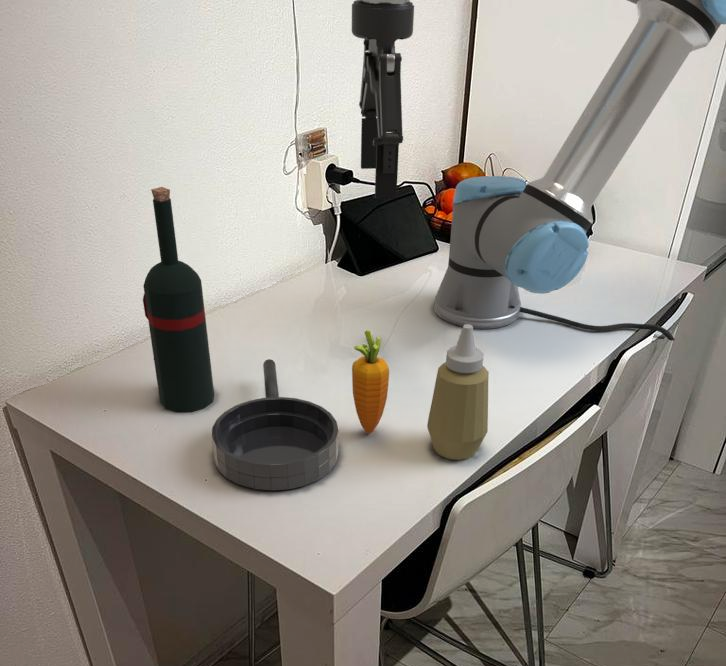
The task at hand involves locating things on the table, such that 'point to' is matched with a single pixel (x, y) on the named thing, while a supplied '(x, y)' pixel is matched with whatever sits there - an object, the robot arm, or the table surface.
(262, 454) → the pan
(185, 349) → the wine bottle
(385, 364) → the carrot
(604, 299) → the table surface
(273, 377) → the pan handle
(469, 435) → the squeeze bottle
